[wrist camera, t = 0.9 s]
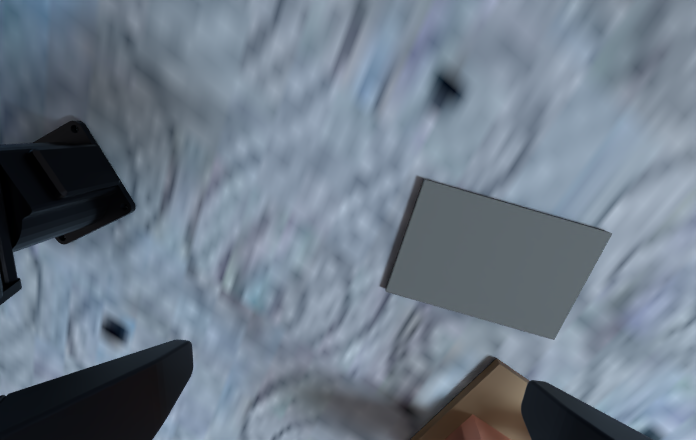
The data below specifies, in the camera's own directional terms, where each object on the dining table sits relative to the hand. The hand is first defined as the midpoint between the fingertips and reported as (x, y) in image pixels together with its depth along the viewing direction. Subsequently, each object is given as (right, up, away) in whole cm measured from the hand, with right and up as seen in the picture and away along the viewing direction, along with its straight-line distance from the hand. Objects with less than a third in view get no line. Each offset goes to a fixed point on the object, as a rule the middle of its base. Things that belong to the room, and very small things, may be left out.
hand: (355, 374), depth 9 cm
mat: (+9, +1, +13) cm, 16 cm away
